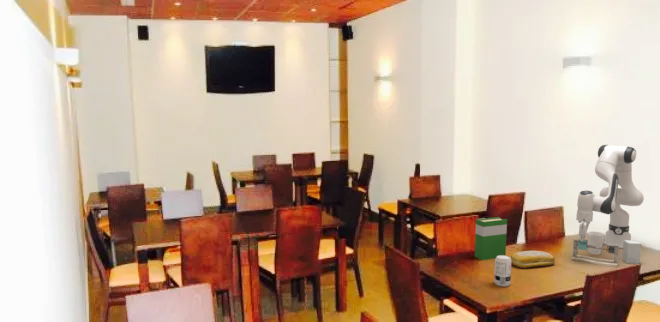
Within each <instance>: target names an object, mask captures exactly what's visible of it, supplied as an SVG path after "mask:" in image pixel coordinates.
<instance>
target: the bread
mask: <svg viewBox="0 0 660 322" xmlns="http://www.w3.org/2000/svg"><path fill="white" fill-rule="evenodd" d="M510 259H511V265H512V266H514V267H517V268H519V269H529V268H533V267H534V268H535V267H539V266H540V267H543V266H552V265H554V264H555V262H556V261H555V260H556V258H555V256H554V255H552V254H551V253H549V252H547V251H543V250H542V251H541V250H533V249H532V250H525V251H523V250H522V251H519V252H514V253H513V254H511V256H510Z"/></svg>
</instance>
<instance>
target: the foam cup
mask: <svg viewBox="0 0 660 322" xmlns="http://www.w3.org/2000/svg"><path fill="white" fill-rule="evenodd" d="M605 236H606V235H605V233H603V232H599V231H593V230H592V231H587V240H588V245H592V246H599V247H603V245H604V244H603V240H605ZM588 250H589V254H591V255H597V256H599V255H601V254H602V250H601V249H594V248H588Z"/></svg>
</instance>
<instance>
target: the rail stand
mask: <svg viewBox="0 0 660 322" xmlns="http://www.w3.org/2000/svg"><path fill="white" fill-rule="evenodd" d="M578 240H579V239H576V238H574V239H573V244H572V245H573V248H572V258H571V261H573V262H579V263H583V264H584V263H585V264H592V265H599V266H605V267H611V268H618V258H619V248H618V247H619V245H615V246H608V245H606V246H602V247H599V246H592V245H589V244H588V245H587V249H589V248H594V249H601V251H602V250H604V251H605V252H608V254H613V259H607V258H600V257H594V256H588V255H580V254H578Z"/></svg>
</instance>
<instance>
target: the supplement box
mask: <svg viewBox="0 0 660 322" xmlns="http://www.w3.org/2000/svg"><path fill="white" fill-rule="evenodd" d="M641 248H642V243H641V242H639V241H637V240H632V239H631V240H624V245H623V248H622V261H624V263H626V264H634V265H640V263H641V262H640V261H641V251H642V250H641Z"/></svg>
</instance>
